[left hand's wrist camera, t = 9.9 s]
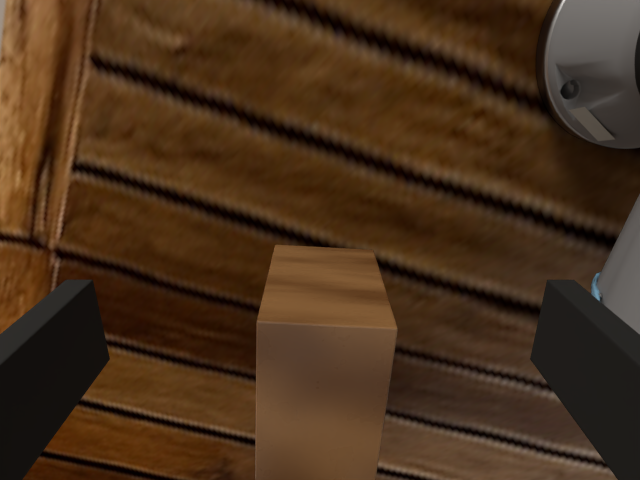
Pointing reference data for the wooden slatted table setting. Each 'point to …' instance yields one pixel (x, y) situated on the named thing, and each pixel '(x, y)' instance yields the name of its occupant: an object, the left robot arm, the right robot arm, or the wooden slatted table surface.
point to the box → (322, 365)
